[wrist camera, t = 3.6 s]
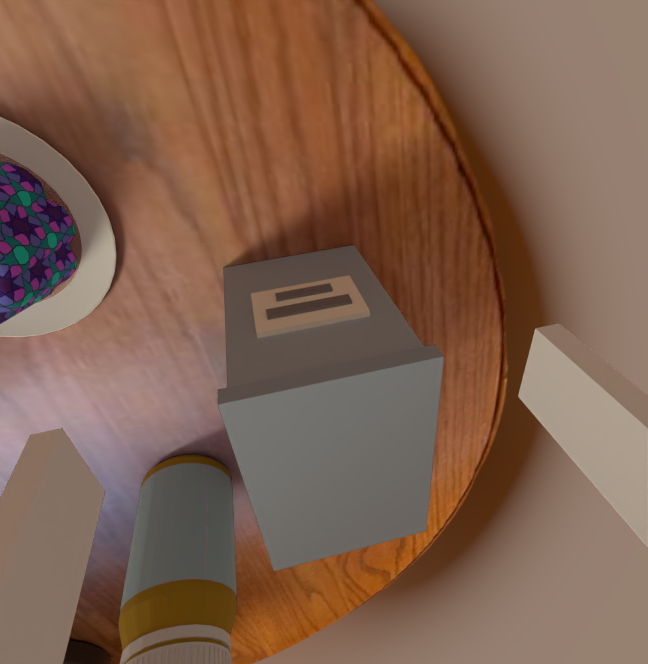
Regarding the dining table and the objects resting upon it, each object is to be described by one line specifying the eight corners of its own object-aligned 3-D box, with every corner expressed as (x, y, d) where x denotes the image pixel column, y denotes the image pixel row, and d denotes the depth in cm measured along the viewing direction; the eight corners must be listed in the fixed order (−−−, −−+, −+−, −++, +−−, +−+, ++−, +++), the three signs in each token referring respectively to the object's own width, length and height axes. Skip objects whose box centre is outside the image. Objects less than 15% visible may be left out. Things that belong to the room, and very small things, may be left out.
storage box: (365, 389, 33) (426, 530, 23) (256, 413, 32) (273, 571, 22) (358, 237, 25) (444, 353, 16) (216, 261, 24) (216, 401, 15)
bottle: (131, 499, 34) (85, 747, 22) (158, 442, 31) (122, 693, 19) (213, 509, 37) (212, 733, 25) (245, 458, 34) (261, 683, 22)
